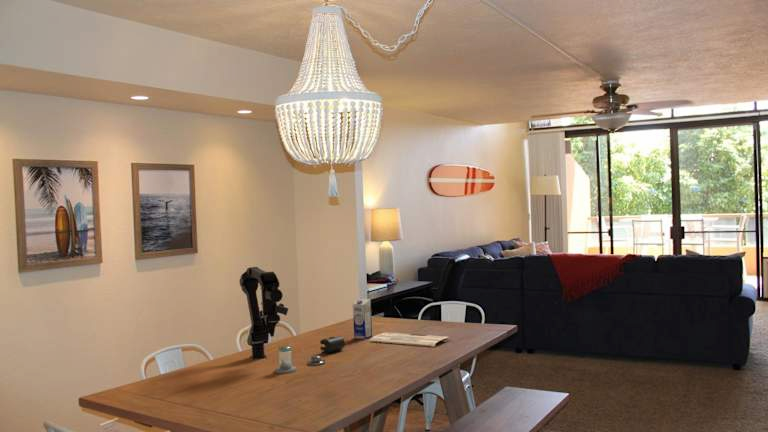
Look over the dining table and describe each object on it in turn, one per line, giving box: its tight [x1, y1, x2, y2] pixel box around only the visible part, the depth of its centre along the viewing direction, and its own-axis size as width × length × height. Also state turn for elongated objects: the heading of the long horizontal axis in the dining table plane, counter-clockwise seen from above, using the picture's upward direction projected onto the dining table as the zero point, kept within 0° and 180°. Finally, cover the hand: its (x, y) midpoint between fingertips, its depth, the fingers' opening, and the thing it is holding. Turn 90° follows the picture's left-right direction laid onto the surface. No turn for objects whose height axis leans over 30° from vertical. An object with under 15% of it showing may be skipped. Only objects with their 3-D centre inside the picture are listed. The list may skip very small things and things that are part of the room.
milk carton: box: [352, 298, 373, 340], centre depth 351 cm, size 7×7×20 cm
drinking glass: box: [278, 345, 293, 370], centre depth 288 cm, size 5×5×9 cm
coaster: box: [274, 365, 297, 374], centre depth 288 cm, size 9×9×1 cm
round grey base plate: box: [306, 355, 326, 367], centre depth 299 cm, size 8×8×3 cm
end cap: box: [320, 335, 346, 354], centre depth 321 cm, size 10×7×7 cm
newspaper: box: [369, 331, 452, 348], centre depth 337 cm, size 37×19×3 cm, turn 58°
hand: (270, 334), depth 302 cm, fingers open, 9 cm apart
